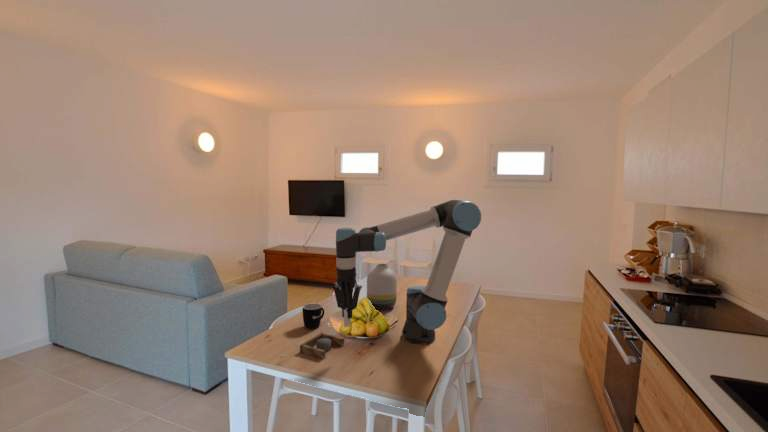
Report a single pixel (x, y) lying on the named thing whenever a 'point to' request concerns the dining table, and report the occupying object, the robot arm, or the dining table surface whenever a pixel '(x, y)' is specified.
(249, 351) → the dining table surface
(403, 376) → the dining table surface
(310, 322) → the mug
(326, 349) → the puck
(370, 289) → the vase
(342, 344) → the corral
